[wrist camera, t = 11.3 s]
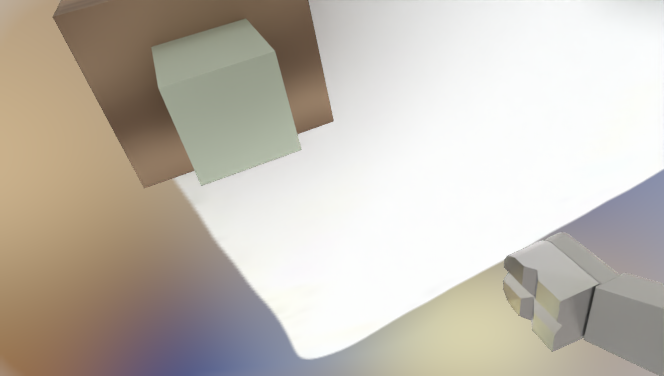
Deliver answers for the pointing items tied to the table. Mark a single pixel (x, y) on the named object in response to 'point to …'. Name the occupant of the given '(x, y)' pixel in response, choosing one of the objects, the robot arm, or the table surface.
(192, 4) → the walnut block
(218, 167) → the sage block
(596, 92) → the table surface
